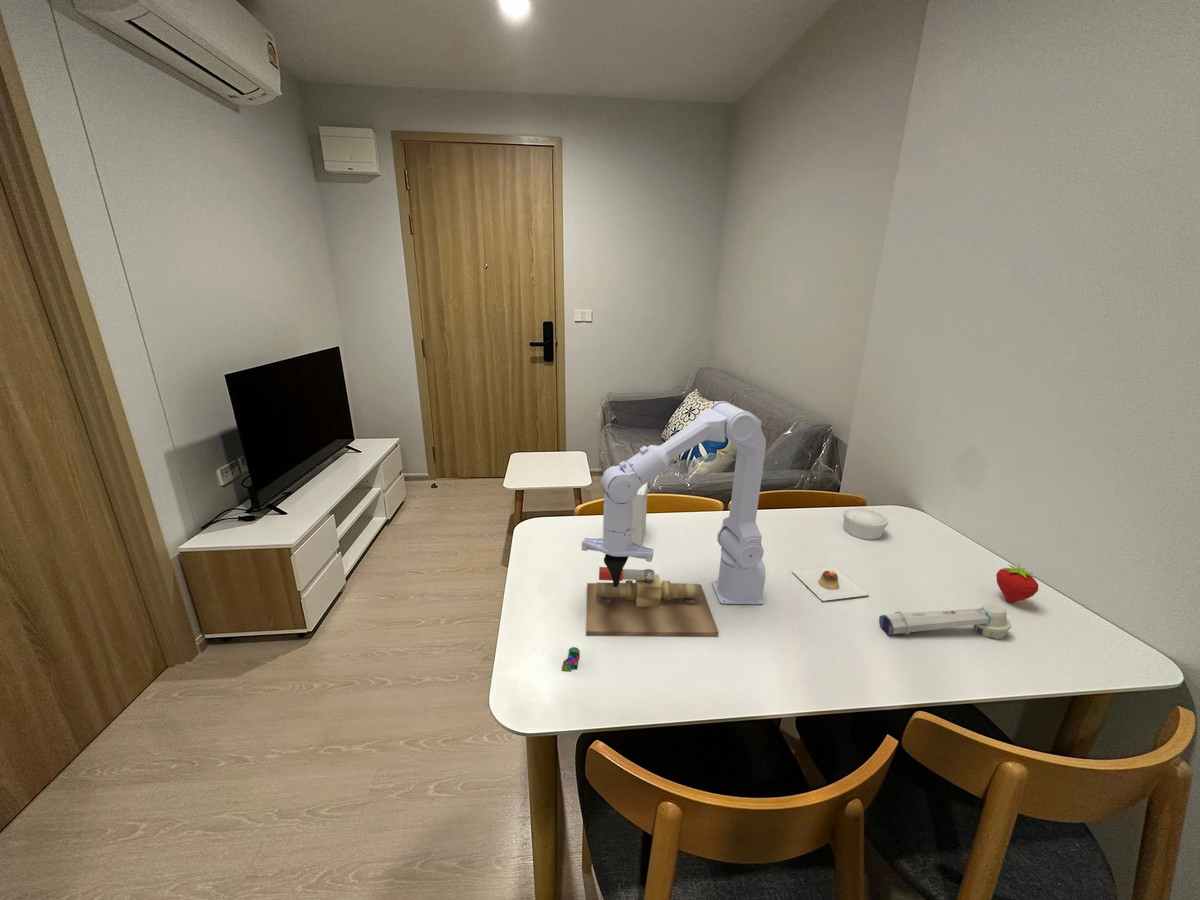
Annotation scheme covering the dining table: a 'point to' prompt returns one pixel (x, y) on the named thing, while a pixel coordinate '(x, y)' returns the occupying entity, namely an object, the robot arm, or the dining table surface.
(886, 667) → the dining table surface
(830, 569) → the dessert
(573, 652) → the puzzle cube
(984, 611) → the toothbrush head
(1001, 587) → the strawberry
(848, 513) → the ramekin
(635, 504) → the supplement box
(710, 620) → the valve board
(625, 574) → the valve lever
